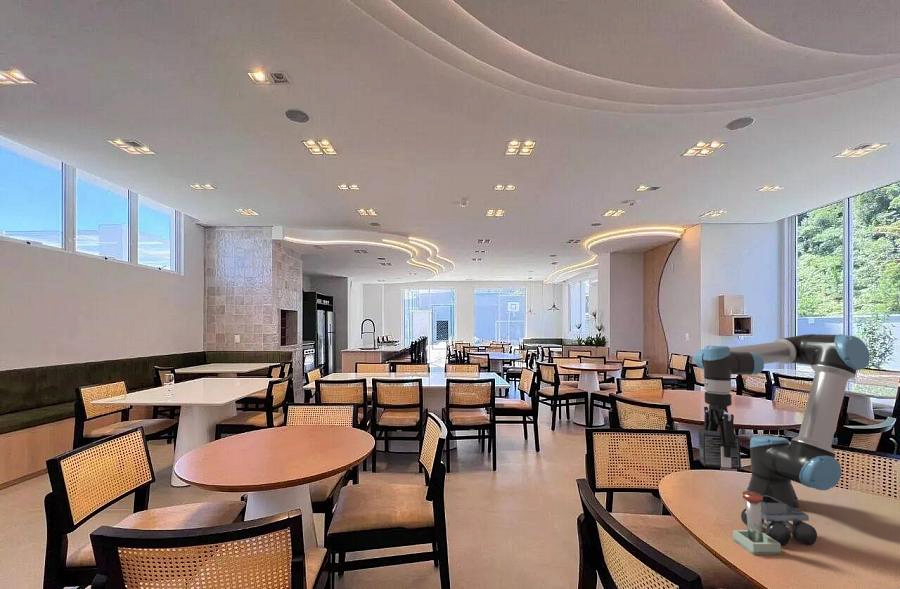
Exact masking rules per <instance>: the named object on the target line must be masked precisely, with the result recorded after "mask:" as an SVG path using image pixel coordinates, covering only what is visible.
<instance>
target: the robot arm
mask: <svg viewBox="0 0 900 589" xmlns="http://www.w3.org/2000/svg"><path fill="white" fill-rule="evenodd" d="M870 358H871V357H870V351H869V349H868V347H867V345H866V343H865V342H864V341H863V340H862V339H861V338H859V337H858V336H854V335H850V334H849V335H848V334H847V335H846V334H817V333H815V334H814V333H810V334H809V333H808V334H801V335H796V336H795V335H794V336H790V337H784V338H782V337H781V338H778V339H775V340H774V341H773V342H764V343H759V344H758V343H756V344H749V345H741V346H732V347H729V346H726V345H725V346H724V345H706V346H705V347H703V349H699V350H697V351H696V352H695V355H694V362H695V365H696V366H697V367H698V368H699V369H702V370H703V378H704V381H703V385H704V390H705V392H704V403H705V404H706V405H708V406H703V411H704V417H703V418H704V420H703V422H704V423H703V430H707V431H719V432H720V437H721V441H722V444H721V445H720V446H721V467H727V468H731V447H735V446H736V444H735V434H736V433H735V424H734V418H735V415H734V414H731V413H729V411H728V407H729V406H732V394H731V393H732V375H743V376H744V375H746V376H747V375H748V376H752V375H759V374H761V373H762V371H763V370H764V368H765V364H773V363H780V364H783V365H785V364H786V365H787V364H789V365H790V364H801V365H808V366H810V368H811V369H812V371H814V375H813V380H812V383H811V388H810V391H809V395H808V398H807V402H806V406H805V409H804V413H803V417H802V422H801V425H800V428H799V433H798V436H796V437H794V438H791V440H790V441H789V439H788V438H785V437H779V436H771V435H770V436H769V435H765V436H764V435H758V436H757V435H756V436H752V437H751V438H750V441H749V442H750V443H749V444H750V445H749V455H750V469H751V477H750V480H749V483H748V487H747V488H746V491H752V492H756V493H759V494H761V495H769V496H771V497H773V498H775V499H777V500H779V501H781V502H783V503H785V504H788V505H790V506H791V507H793V508H795V509H798V508H799V499H798V497H797V493H796V490H795V489H794V487H793V485H792V482H795V483H798V484H800V485H803V486H805V487H806V488H811V489H815V490H819V491H828V490H830V489H832V488H834V487H836V485H837V484H838V483H839V482H840V481H841V480H840V479H841V478H842V472H843V471H842V468H841V464H840V462H839V461H838V460H837V459H836V452H835V451H834V450H833V447H832V444H833V439H834V435H835V432H836V429H837V424H838V420H839V417H840V416H839V415H840V412H841V408H842V404H843V400H844V396H845V393H846V392H845V391H846V387H847V384H848V381H849V380H852V379H854V378H855V377H856V374H857V371H861V370H864V369H866V367H868V366H869V364H870V360H871V359H870ZM734 433H735V434H734ZM727 468H726V469H727Z"/></svg>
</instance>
